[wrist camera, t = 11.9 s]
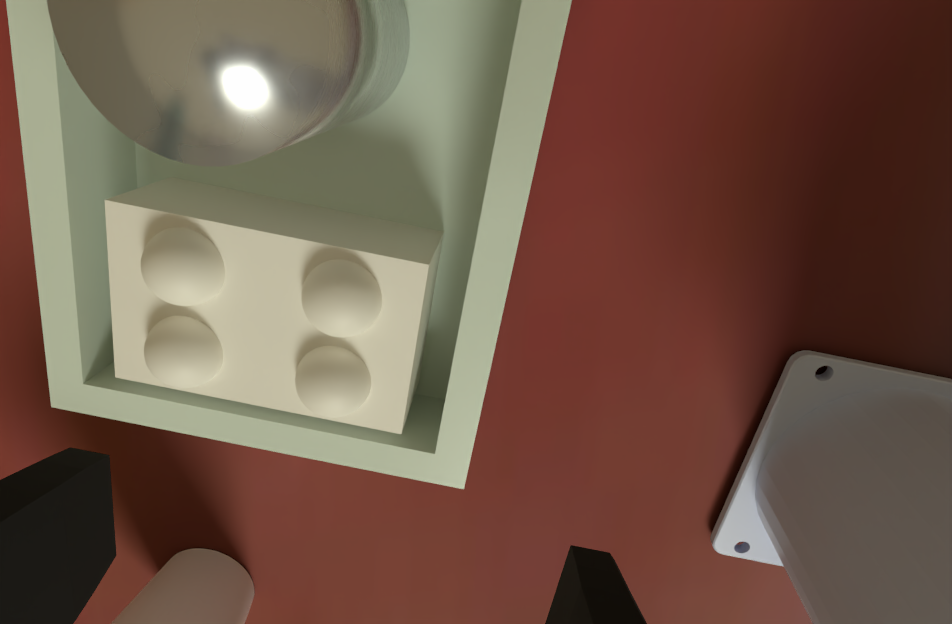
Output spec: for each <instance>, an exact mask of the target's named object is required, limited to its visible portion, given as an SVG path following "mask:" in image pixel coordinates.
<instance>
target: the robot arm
mask: <svg viewBox="0 0 952 624" xmlns="http://www.w3.org/2000/svg"><path fill="white" fill-rule="evenodd" d="M822 366H827V370H826V371H825V372H824V373H822V374H820V375H815V372H816V371H817V369H818V368H820V367H822ZM710 540H711V542H712V545H713V548H714V550H716V551H717V552H718V553H720V554H723V555H729V556H734V557H739V558H744V559H749V560H754V561H759V562H764V563H769V564H774V565H779V566H784V568H785V570H786V572H787V574H788V576H789V578H790V580H791V582H792V584H793V585H794V587H795V589H796V591H797V593H798V595H799V597H800V599H801V601H802V603H803V605H804V607H805V609H806V611H807V613H808V615H809V617H810V619H811V621H812V623H813V624H952V379H950V378H945V377H940V376H935V375H930V374H925V373H920V372H915V371H910V370H905V369H900V368H895V367H890V366H885V365H880V364H875V363H870V362H865V361H860V360H855V359H850V358H845V357H840V356H835V355H830V354H825V353H820V352H815V351H810V350H803V351H799V352H796V353H795V354H794V355H792V356H791V357H790V358H789V360H788V361H787V363H786V366H785V368H784V370H783V372H782V375H781V377H780V379H779V381H778V384H777V386H776V388H775V390H774V393H773V395H772V397H771V400H770V402H769V404H768V406H767V409H766V411H765V413H764V415H763V418H762V420H761V422H760V425H759V427H758V429H757V431H756V434H755V436H754V438H753V440H752V443H751V445H750V447H749V449H748V452H747V454H746V456H745V459H744V461H743V463H742V465H741V468H740V470H739V472H738V474H737V477H736V479H735V481H734V484H733V486H732V488H731V490H730V493H729V495H728V497H727V499H726V502H725V504H724V506H723V508H722V511H721V513H720V515H719V518H718V520H717V522H716V524H715V527H714V529H713V531H712V533H711V537H710ZM739 542H744V543H743V544H740V545H736V544H737V543H739ZM115 556H116V544H115V530H114V515H113V501H112V487H111V472H110V458H109V455H106V454H101V453H96V452H90V451H85V450H80V449H75V448H68V449H66V450H64V451H61V452H59V453H57V454H54V455H52V456H50V457H48V458H46V459H43V460H41V461H39V462H37V463H35V464H33V465H31V466H29V467H26V468H24V469H22V470H20V471H18V472H16V473H14V474H12V475H10V476H8V477H6V478H4V479H2V480H0V624H73V623H74V622H75V620H76V619H77V617H78V616H79V614H80V613H81V611H82V610H83V608H84V606H85V605H86V603H87V602H88V600H89V599H90V597H91V596H92V594H93V593H94V591H95V589H96V588H97V586H98V584H99V583H100V581H101V580H102V578H103V576H104V575H105V573H106V571H107V570H108V568H109V566H110V565H111V563H112V561H113V560H114V558H115ZM545 624H647V623H646V621H645V619H644V617H643V616H642V614H641V612H640V610H639V608H638V606H637V604H636V602H635V600H634V598H633V596H632V594H631V592H630V590H629V588H628V586H627V584H626V582H625V580H624V578H623V576H622V574H621V572H620V570H619V568H618V566H617V564H616V562H615V560H614V559H613V557H612V556H611V554H610V553H608V552H603V551H598V550H592V549H587V548H582V547H577V546H572V545H571V546H570V549H569V552H568V555H567V558H566V562H565V565H564V568H563V571H562V574H561V577H560V580H559V583H558V586H557V589H556V592H555V595H554V599H553V602H552V605H551V608H550V611H549V614H548V617H547V620H546V623H545Z"/></svg>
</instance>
